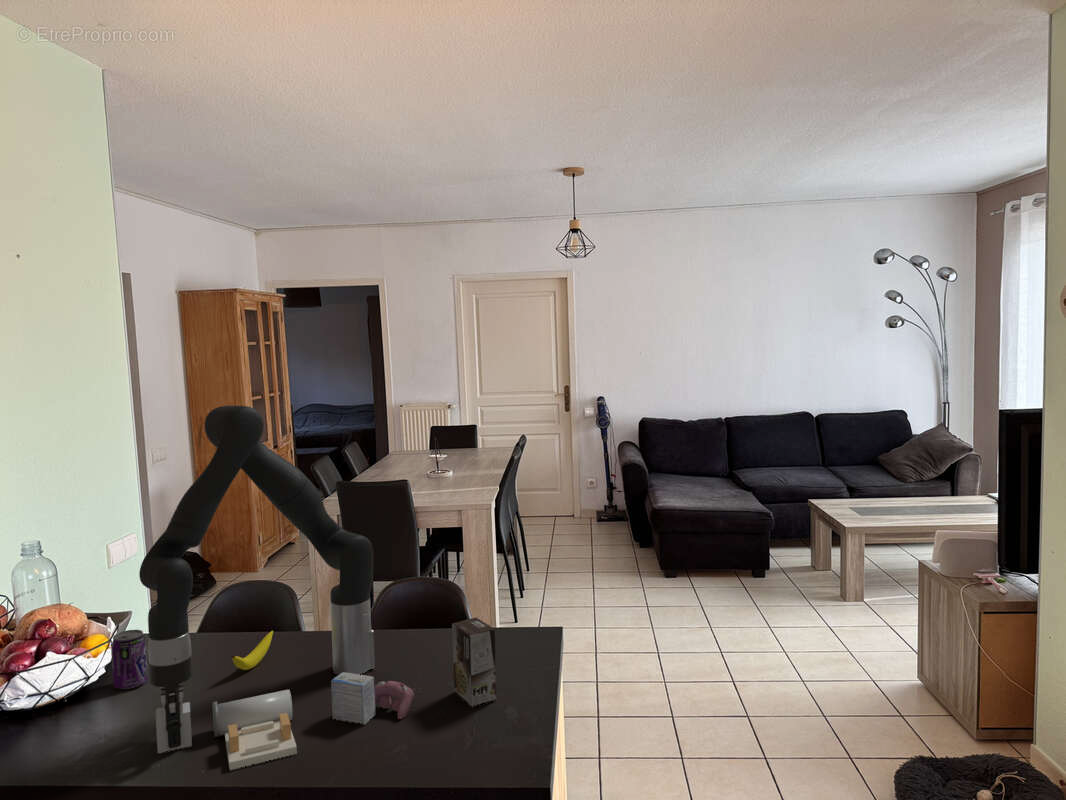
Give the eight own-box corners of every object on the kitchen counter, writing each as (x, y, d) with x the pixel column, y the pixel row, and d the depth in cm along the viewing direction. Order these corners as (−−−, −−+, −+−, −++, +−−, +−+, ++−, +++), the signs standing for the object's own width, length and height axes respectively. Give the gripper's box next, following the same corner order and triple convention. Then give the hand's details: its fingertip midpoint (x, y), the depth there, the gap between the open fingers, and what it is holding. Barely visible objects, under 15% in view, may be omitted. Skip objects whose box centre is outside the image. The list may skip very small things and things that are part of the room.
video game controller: (411, 720, 158) (419, 685, 161) (400, 720, 155) (408, 684, 157) (373, 711, 163) (381, 678, 165) (361, 711, 159) (369, 676, 161)
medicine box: (376, 715, 158) (374, 676, 157) (364, 726, 154) (363, 685, 153) (344, 710, 160) (342, 671, 160) (331, 720, 156) (330, 680, 156)
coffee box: (497, 700, 163) (496, 628, 162) (471, 708, 160) (469, 635, 159) (478, 684, 171) (476, 616, 170) (452, 692, 168) (451, 622, 167)
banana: (278, 649, 193) (277, 625, 193) (239, 682, 175) (238, 656, 174) (268, 648, 194) (267, 624, 193) (228, 681, 175) (226, 655, 174)
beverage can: (133, 692, 170) (130, 641, 169) (106, 690, 171) (103, 639, 170) (154, 679, 177) (152, 629, 176) (128, 676, 178) (125, 627, 177)
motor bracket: (288, 711, 160) (287, 681, 160) (302, 752, 144) (301, 719, 143) (213, 727, 154) (212, 696, 153) (219, 773, 137) (217, 738, 137)
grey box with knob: (191, 735, 151) (189, 694, 150) (191, 746, 147) (189, 703, 146) (158, 742, 148) (155, 701, 148) (157, 753, 144) (155, 710, 144)
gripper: (192, 666, 141) (196, 752, 143) (190, 639, 154) (194, 719, 156) (147, 674, 138) (152, 762, 139) (149, 646, 151) (154, 727, 152)
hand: (174, 739), depth 147 cm, fingers open, 5 cm apart
